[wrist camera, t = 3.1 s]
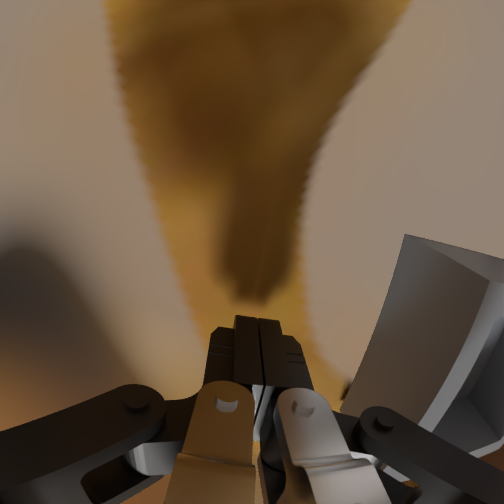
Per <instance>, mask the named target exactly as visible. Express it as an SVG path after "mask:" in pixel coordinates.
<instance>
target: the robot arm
mask: <svg viewBox="0 0 504 504" xmlns="http://www.w3.org/2000/svg"><path fill="white" fill-rule="evenodd" d="M253 441H260V452H259V455H258V457H257V466H258V473H259V479H260V485H261V492H262V498H263V504H504V471H502V470H500V469H498V468H496V467H494V466H492V465H490V464H488V463H486V462H484V461H482V460H480V459H478V458H477V457H475V456H473V455H471V454H469V453H467V452H465V451H463V450H462V449H460V448H458V447H456V446H454V445H452V444H451V443H449V442H447V441H445V440H443V439H442V438H440V437H438V436H436V435H435V434H433V433H431V432H429V431H428V430H426V429H424V428H423V427H421V426H419V425H417V424H416V423H414V422H412V421H411V420H409V419H407V418H406V417H404V416H402V415H401V414H399V413H397V412H396V411H394V410H392V409H390V408H387V407H382V406H373V407H369V408H367V409H365V410H364V411H363V412H362V414H361V415H360V417H355V416H350V415H346V414H342V413H338V412H335V411H333V410H331V407H330V405H329V403H328V401H327V400H326V399H325V398H324V397H323V396H322V395H320V394H319V393H317V392H315V391H314V388H313V385H312V381H311V378H310V374H309V371H308V368H307V364H306V361H305V358H304V356H303V351H302V348H301V345H300V344H299V343H298V342H297V341H296V339H295V338H294V337H293V336H288V335H282V330H281V326H280V322H279V320H271V319H263V318H258V319H257V318H255V317H248V316H241V315H235V320H234V325H233V329H232V328H225V327H218V328H217V329H216V330H215V331H213V332H212V333H211V337H210V343H209V350H208V356H207V362H206V368H205V375H204V381H203V386H202V388H201V389H200V390H199V392H198V393H196V394H195V395H193V396H191V397H189V398H185V399H180V400H164V398H163V397H162V395H160V394H159V393H158V392H157V391H156V390H154V389H152V388H150V387H148V386H144V385H138V384H128V385H123V386H120V387H118V388H116V389H113V390H111V391H108V392H106V393H103V394H101V395H99V396H96V397H94V398H91V399H89V400H86V401H84V402H81V403H79V404H76V405H74V406H71V407H68V408H66V409H63V410H61V411H58V412H55V413H53V414H50V415H47V416H45V417H42V418H39V419H36V420H33V421H31V422H28V423H25V424H22V425H19V426H16V427H13V428H10V429H7V430H4V431H0V504H120V503H121V502H123V501H125V500H127V499H128V498H130V497H132V496H134V495H135V494H137V493H139V492H141V491H142V490H144V489H145V488H147V487H149V486H150V485H152V484H154V483H155V482H157V481H158V480H160V479H161V478H163V476H164V475H166V474H171V477H170V481H169V484H168V488H167V491H166V495H165V498H164V502H163V504H254V500H255V480H256V469H255V465H253V464H252V448H253ZM384 463H385V464H386V465H388V466H389V467H391V468H392V469H394V470H396V471H397V472H399V473H400V474H402V475H404V476H405V477H407V478H409V479H410V480H412V481H414V482H415V483H417V484H418V485H420V486H419V487H415V488H412V487H408V486H406V485H404V484H403V483H401V482H400V481H398V480H396V479H395V478H393V477H392V476H390V475H388V474H387V473H385V472H384V471H382V470H381V469H380V468H381V466H382V465H383V464H384Z"/></svg>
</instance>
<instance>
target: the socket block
mask: <svg viewBox="0 0 504 504" xmlns="http://www.w3.org/2000/svg"><path fill="white" fill-rule="evenodd" d="M373 406H382V407H387V408H390V409H392V410H394V411H396V412H397V413H399V414H401V415H402V416H404V417H406V418H407V419H409V420H411V421H412V422H414V423H416V424H417V425H419V426H421V427H423V428H424V429H426V430H428V431H429V432H431V433H433V434H435V435H436V436H438V437H440V438H442V439H443V440H445V441H447V442H449V443H451V444H452V445H454V446H456V447H458V448H460V449H462V450H463V451H465V452H467V453H469V454H471V455H473V456H475V457H477V458H479V457H482V456H484V455H486V454H489V453H491V452H493V451H495V450H498V449H499V448H500V447H501V446H502V445H503V444H504V259H500V258H497V257H493V256H490V255H486V254H483V253H479V252H475V251H471V250H468V249H464V248H460V247H456V246H452V245H448V244H444V243H440V242H436V241H432V240H428V239H424V238H420V237H416V236H412V235H407V234H405V235H404V239H403V243H402V247H401V250H400V254H399V257H398V261H397V264H396V268H395V271H394V275H393V278H392V281H391V284H390V287H389V290H388V293H387V296H386V299H385V302H384V305H383V308H382V311H381V314H380V316H379V319H378V322H377V324H376V327H375V330H374V332H373V335H372V337H371V340H370V343H369V345H368V347H367V350H366V352H365V355H364V357H363V360H362V362H361V364H360V367H359V369H358V371H357V374H356V376H355V378H354V380H353V382H352V385H351V387H350V389H349V391H348V393H347V395H346V398H345V400H344V402H343V404H342V406H341V408H340V412H341V413H342V414H346V415H350V416H355V417H360V415H361V414H362V412H363V411H364V410H365V409H367V408H369V407H373ZM380 469H381V470H382V471H384V472H385V473H387V474H388V475H390V476H392V477H393V478H395V479H396V480H398V481H400V482H403V481H407V480H410V479H409V478H407V477H405V476H404V475H402V474H400V473H399V472H397V471H396V470H394V469H392V468H391V467H389V466H388V465H386V464H385V463H384V464H383V465H382V466H381V468H380Z"/></svg>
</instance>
